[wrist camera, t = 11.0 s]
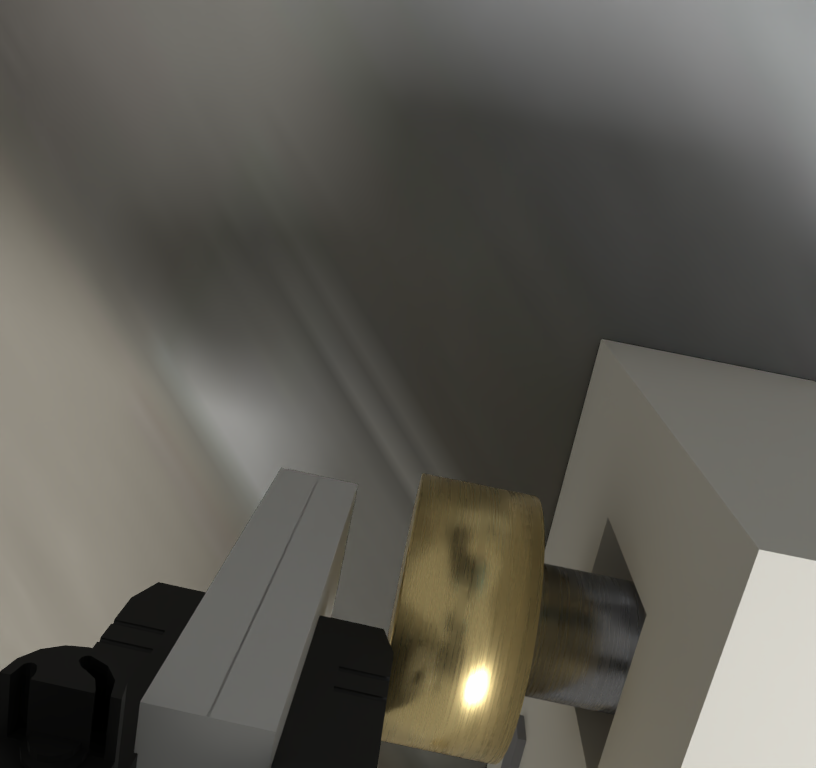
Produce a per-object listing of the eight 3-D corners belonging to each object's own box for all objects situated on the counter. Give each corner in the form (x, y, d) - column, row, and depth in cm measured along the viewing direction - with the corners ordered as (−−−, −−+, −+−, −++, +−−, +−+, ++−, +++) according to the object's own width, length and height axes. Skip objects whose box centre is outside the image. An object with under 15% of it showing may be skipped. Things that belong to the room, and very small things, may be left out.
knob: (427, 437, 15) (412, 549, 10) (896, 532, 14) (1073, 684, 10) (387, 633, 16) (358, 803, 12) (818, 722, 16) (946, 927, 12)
